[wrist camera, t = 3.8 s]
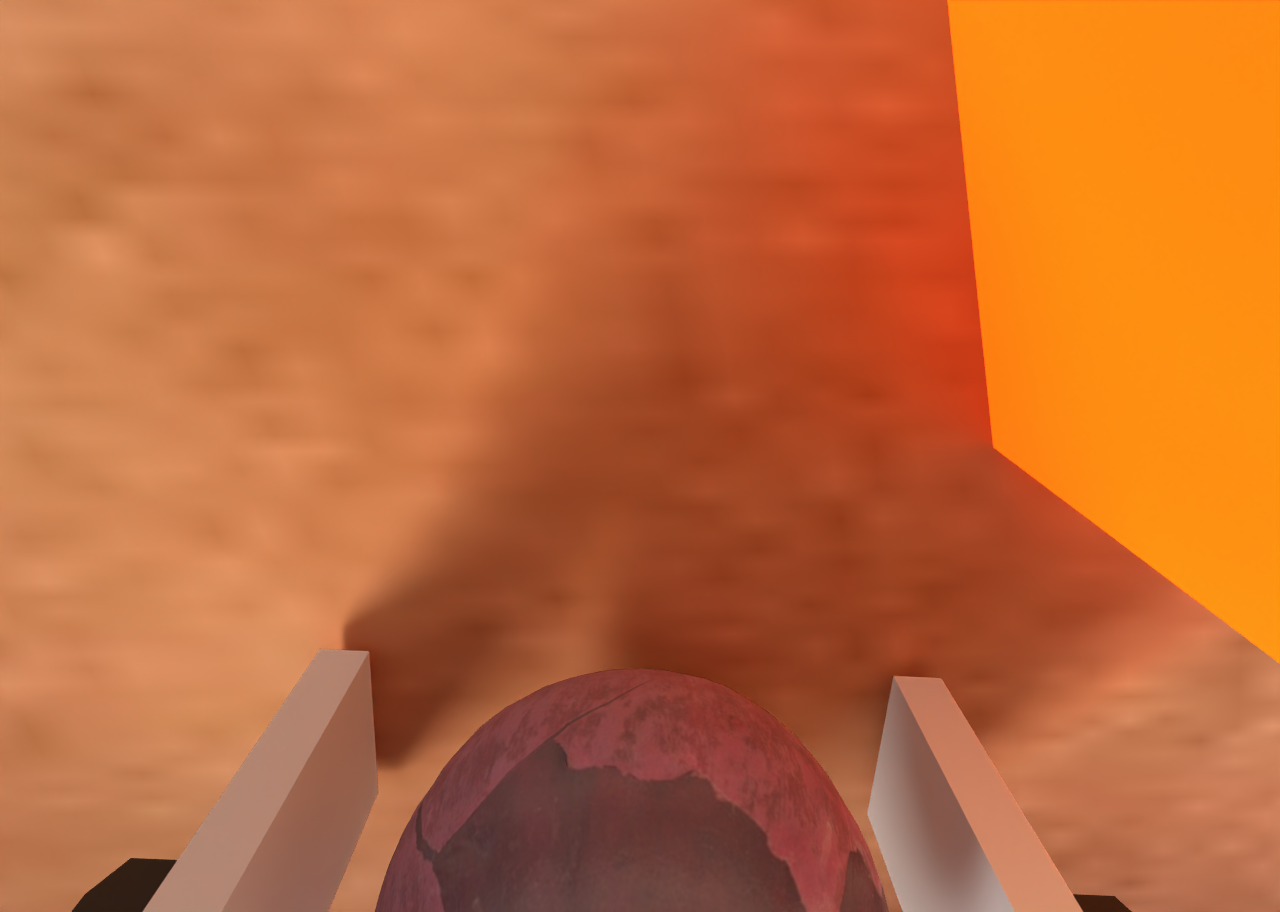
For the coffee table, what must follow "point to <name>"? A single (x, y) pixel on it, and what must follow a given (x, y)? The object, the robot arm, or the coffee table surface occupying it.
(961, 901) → the robot arm
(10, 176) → the coffee table surface
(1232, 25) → the orange juice
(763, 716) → the vegetable
